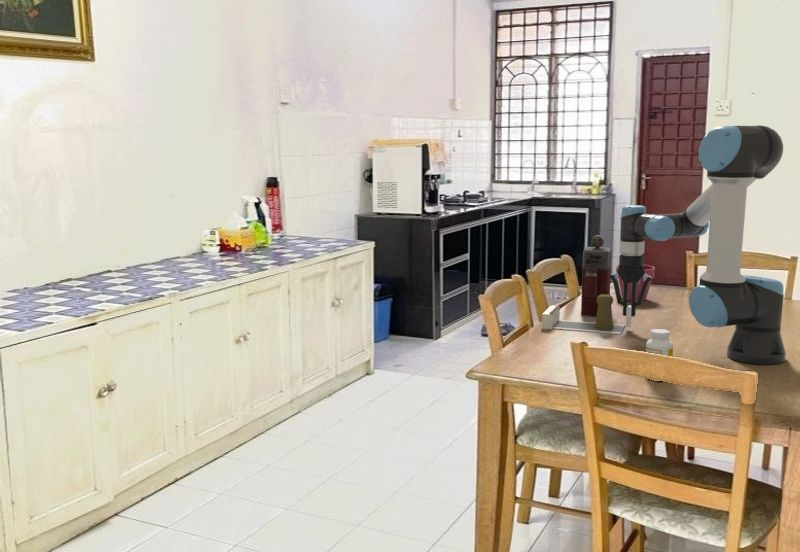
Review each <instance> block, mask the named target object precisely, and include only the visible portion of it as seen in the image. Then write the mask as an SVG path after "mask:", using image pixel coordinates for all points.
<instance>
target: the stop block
mask: <svg viewBox="0 0 800 552" xmlns="http://www.w3.org/2000/svg"><path fill="white" fill-rule="evenodd" d="M560 309H561V305H560V303H556V304H555V305H550V306H549V307H548V308H547V309H546V310H544V312H543V313H542V314H541V329H542V330H553V329H552V327H553V326H554V325H555V324H556V323H557V322H558V320H560V319H561V318H560V317H561V316H560V314H561V312H560V311H561V310H560Z"/></svg>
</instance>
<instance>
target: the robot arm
mask: <svg viewBox="0 0 800 552" xmlns="http://www.w3.org/2000/svg"><path fill="white" fill-rule="evenodd" d="M783 153H784V143H783V139H782V136H780V134H779V133H778V132H777V131H776V130H775V129H773V128H771V127H769V126H766V125H759V124H758V125H722V126H718V127H717V126H715V127H714V128H712V129H710V131H708V132H707V134H706V135H705V136H703V138H702V140H701V143H700V144H699V149H698V159H699V162H700V165H701V166H702V168H703V169H704V170H706V171H707V172H706V173H707V174H706V178H707V179H708V180H709V181H710V182H711V185H710V186H708V187H707V189H706V190H704V191H703V192H702V193H701V194H700V195H699V196H698V197H697V198H696V199H695V200H694V201H693V202H692V203H691V204H690V205H689V206H688V207H687V208H686V209H684V211H682V212H679V213H663V214H652V213H651V214H650V213H647V208H646V206H645V205H637V204H636V205H635V204H632V205H631V204H629V205H624V206H622V208H621V215H620V233H619V235H620V237H619V253H620V254H619V255H618V256H619V258H618V259H619V262H618V265H619V268H618V270H617V272H616V271H615V272H614V273H611V276H610V278H611V279H610V280H611V281H612V283H613V289H614V293H615V297H616V301H617V305H621V306H622V316H624V317H625V327H626V328H631V327H632V325H633V321H632V320H633V317H635V316H636V310H637V309H636V308H637V307H638V306H641V305H642V304H643V298H644V294H645V291H646V288H647V285H648V283H649V281H650V280H651V278H652V277H651V276H648V275H647V274H645V271H644V268H643V266H644V265H645V264H644V263H645V260H644V259H645V256H644V254H645V242H646V241H645V240H646V239H648V240H651V241H652V240H653V241H656V242H658V241H661V242H665V241H668V240H669V239H679V238H681V239H682V238H696V237H700V236H701V237H702V236H704V235H705V234H706V233H707V231H708V241H707V242H708V244H707V255H706V258H707V259H706V270H705V272H703V273H702V274H700V276H699V283H698V284H699V285H696V286H695V287H694V288H692V290H691V291H690V293H689V297H688V305H689V310H690V312H691V315H692V316H694V319H695V321H696V322H697V323H698V324H700V325H701V326H702V327H703V326H704V327H707V328H718V329H719V328H720V329H721V328H723V327H730V326H735V327H734V331H733V333H732V335H731V339H730V340H729V342H728V346H727V349H726V350H727V351H726V356H727V357H728V358H730V359H731V360H734V361H737V362H741V363H746V364H747V363H748V364H754V365H766V366H767V365H778V364H783V363H784V362H785V361H786V355H787V354H786V348H785V345H784V341H783V338H782V334H781V329H782V317H783V316H782V315H783V307H784V306H783V304H784V296H785V295H784V285H783V284H784V283H782V282H781V281H780V280H777V279H775V278H769V277H763V276H756V275H755V276H754V275H745V274H743V275H742V273H741V266H742V255H743V253H742V252H743V243H744V242H743V241H744V232H745V231H744V228H745V218H746V205H747V193H748V190H747V189H748V187H749V186H751V185H752V184H753V183H754V182H755V181H756V180H762V179H764V178H765V177H766V176H768V175H769V174H770V173H771V172H772V171H773V170H775V168H777V166H778V164H780V162H781V159H782V157H783ZM618 275H619V276H620V277H621V279H622V280H623V281H624V295H623V299H622V296H621V290H620V284H619V279H618ZM642 277H644V278H643V280H644V283H643V286H642V290H641V293H640V296H639V299H638V301H636V295H637V282H638V281H639V280H640V279H641V278H642ZM652 279H653V278H652ZM629 283H632V301H630V302H631V304H630V305H628V304H629V301H628V288H629Z"/></svg>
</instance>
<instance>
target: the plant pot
mask: <svg viewBox="0 0 800 552" xmlns="http://www.w3.org/2000/svg"><path fill="white" fill-rule="evenodd" d="M615 267H616V269H615V273H616V272H617V270H618V268H619V264H617V265H616V266H615ZM643 268H644V271H645V274H647V275H648V276H651V277H652V278H651V280H650V281H649V283H648V285H647V288H646V291H645V294H644V298H643V300H645V301H647V299H648V298H647V297H648V295H649V291H650V287H651V284H652V280H653V279H654V278H655V275H656V274H655V273H656V267H655V266H653V265H648V264H644V266H643ZM643 278H644V277H642V278H641V279H640V280H639V281H638V282H637V295H636V302H637V301H638V299H639V296H640V293H641V290H642V286H643V283H644V280H643ZM618 283H619V288H620V293H621V297H622V300H623V295H624V281H623V280H622V279H621V277H620V276H619V275H618ZM628 300H629V301H628V302H632V283H629V288H628Z"/></svg>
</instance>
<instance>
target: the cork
mask: <svg viewBox="0 0 800 552" xmlns="http://www.w3.org/2000/svg"><path fill="white" fill-rule="evenodd" d="M597 303H598V310H597V316H596V317H595V322H594V323H595V328H596V329H600V330H611V329H613V324H614V320H613V310H612V305H613V303H614V297H613V296H612V295H611V294H610V295H606V294H603V295H599V296H598V297H597Z"/></svg>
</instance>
